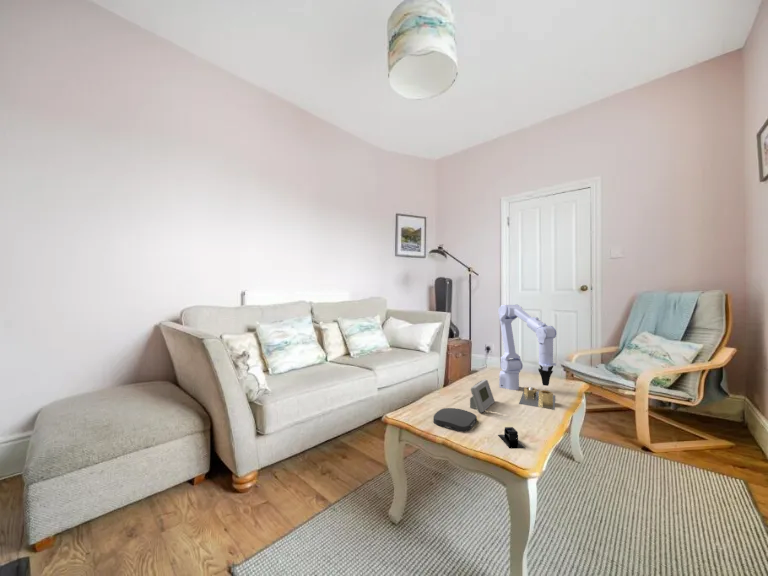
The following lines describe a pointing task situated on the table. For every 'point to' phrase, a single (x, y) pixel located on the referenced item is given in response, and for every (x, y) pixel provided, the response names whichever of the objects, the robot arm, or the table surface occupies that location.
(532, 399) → the plate
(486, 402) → the digital clock
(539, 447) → the table surface
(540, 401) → the brass octagonal sleeve
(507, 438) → the block on black plate
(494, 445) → the table surface
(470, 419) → the media streaming box
